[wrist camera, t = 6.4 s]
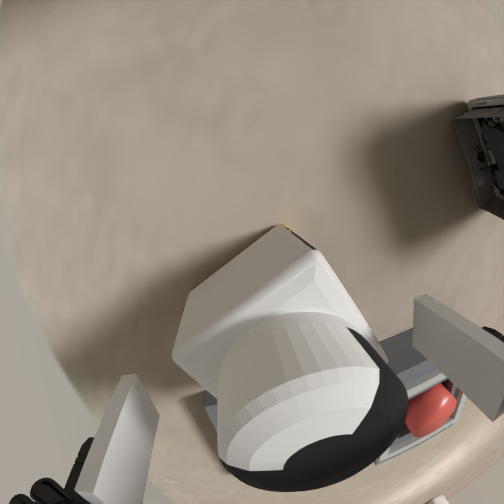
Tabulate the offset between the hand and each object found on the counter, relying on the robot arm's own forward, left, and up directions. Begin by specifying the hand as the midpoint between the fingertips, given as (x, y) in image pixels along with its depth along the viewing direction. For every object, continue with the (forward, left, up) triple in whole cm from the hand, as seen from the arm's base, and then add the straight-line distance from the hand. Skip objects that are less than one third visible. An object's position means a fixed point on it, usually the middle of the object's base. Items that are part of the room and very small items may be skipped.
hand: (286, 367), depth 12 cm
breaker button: (+12, +11, -4) cm, 16 cm away
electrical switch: (-6, +19, -7) cm, 21 cm away
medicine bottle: (0, 0, -7) cm, 7 cm away
